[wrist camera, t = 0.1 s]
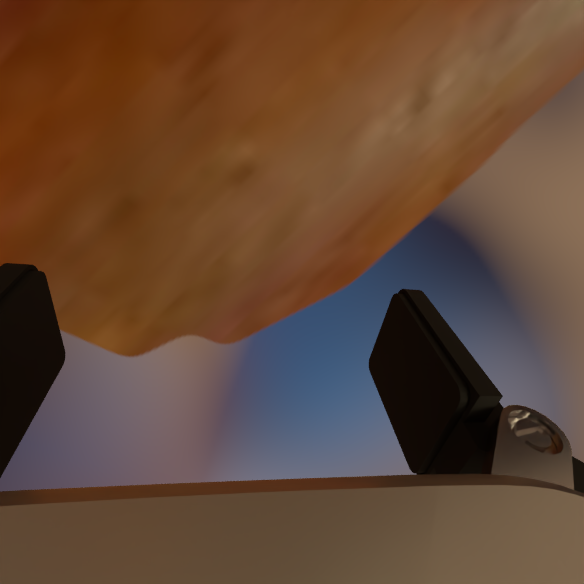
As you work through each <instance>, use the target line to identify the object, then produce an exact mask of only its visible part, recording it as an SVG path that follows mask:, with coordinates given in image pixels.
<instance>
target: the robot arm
mask: <svg viewBox="0 0 584 584" xmlns="http://www.w3.org/2000/svg"><path fill="white" fill-rule="evenodd" d="M64 361H65V349H64V346H63V341H62V337H61V333H60V329H59V326H58V322H57V318H56V314H55V310H54V306H53V302H52V298H51V294H50V290H49V286H48V283H47V279H46V276H45V274H44V272H42V271H38V269H37V268H36V267H35V266H34V265H27V264H12V263H5V264H3V265H2V266H0V477H1V475H2V474H3V472H4V470H5V468H6V467H7V465H8V463H9V461H10V459H11V457H12V456H13V454H14V452H15V450H16V449H17V447H18V445H19V443H20V441H21V440H22V438H23V436H24V434H25V432H26V431H27V429H28V427H29V425H30V423H31V422H32V420H33V418H34V416H35V415H36V413H37V411H38V409H39V407H40V406H41V404H42V402H43V400H44V398H45V397H46V395H47V393H48V391H49V389H50V387H51V386H52V384H53V382H54V380H55V379H56V377H57V375H58V373H59V371H60V370H61V368H62V366H63V364H64ZM369 370H370V373H371V375H372V378H373V380H374V383H375V385H376V388H377V390H378V392H379V395H380V397H381V400H382V402H383V405H384V407H385V409H386V412H387V414H388V417H389V419H390V422H391V424H392V427H393V429H394V432H395V434H396V436H397V439H398V441H399V444H400V446H401V448H402V451H403V454H404V456H405V458H406V461H407V463H408V465H409V468H410V470H411V471H412V472H413V473H416V474H417V475H393V476H362V477H332V478H305V479H304V478H303V479H279V480H278V479H277V480H252V481H227V482H201V483H178V484H152V485H130V486H108V487H85V488H63V489H41V490H20V491H2V492H0V584H584V463H583V462H581V461H580V460H578V459H576V458H574V457H573V456H572V451H571V446H570V443H569V440H568V439H567V437H566V436H565V434H564V432H563V431H562V430H561V429H560V428H559V427H558V426H557V425H556V424H555V423H554V422H552V421H551V420H550V419H549V418H547V417H546V416H544V415H542V414H541V413H539V412H537V411H536V410H533V409H531V408H528V407H525V406H520V405H509V406H507V407H505V408H503V407H502V405H501V404H500V403H499V401H500V399H501V398H502V395H501V393H500V392H499V391H498V389H497V388H496V387H495V385H494V384H493V383H492V381H491V380H490V379H489V378H488V376H487V375H486V374H485V372H484V371H483V370H482V369H481V367H480V366H479V365H478V363H477V362H476V361H475V359H474V358H473V357H472V355H471V354H470V353H469V352H468V350H467V349H466V347H465V346H464V345H463V344H462V342H461V341H460V340H459V338H458V337H457V336H456V334H455V333H454V332H453V330H452V329H451V328H450V327H449V325H448V324H447V323H446V321H445V320H444V319H443V317H442V316H441V315H440V313H439V312H438V311H437V310H436V308H435V307H434V306H433V304H432V303H431V302H430V300H429V299H428V298H427V296H426V295H425V294H424V293H423V292H422V291H420V290H409V289H402V290H400V291H399V292H398V294H397V293H396V294H394V295H393V297H392V299H391V302H390V304H389V307H388V310H387V313H386V315H385V318H384V321H383V323H382V326H381V329H380V332H379V334H378V337H377V340H376V343H375V345H374V348H373V351H372V353H371V356H370V359H369Z"/></svg>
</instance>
